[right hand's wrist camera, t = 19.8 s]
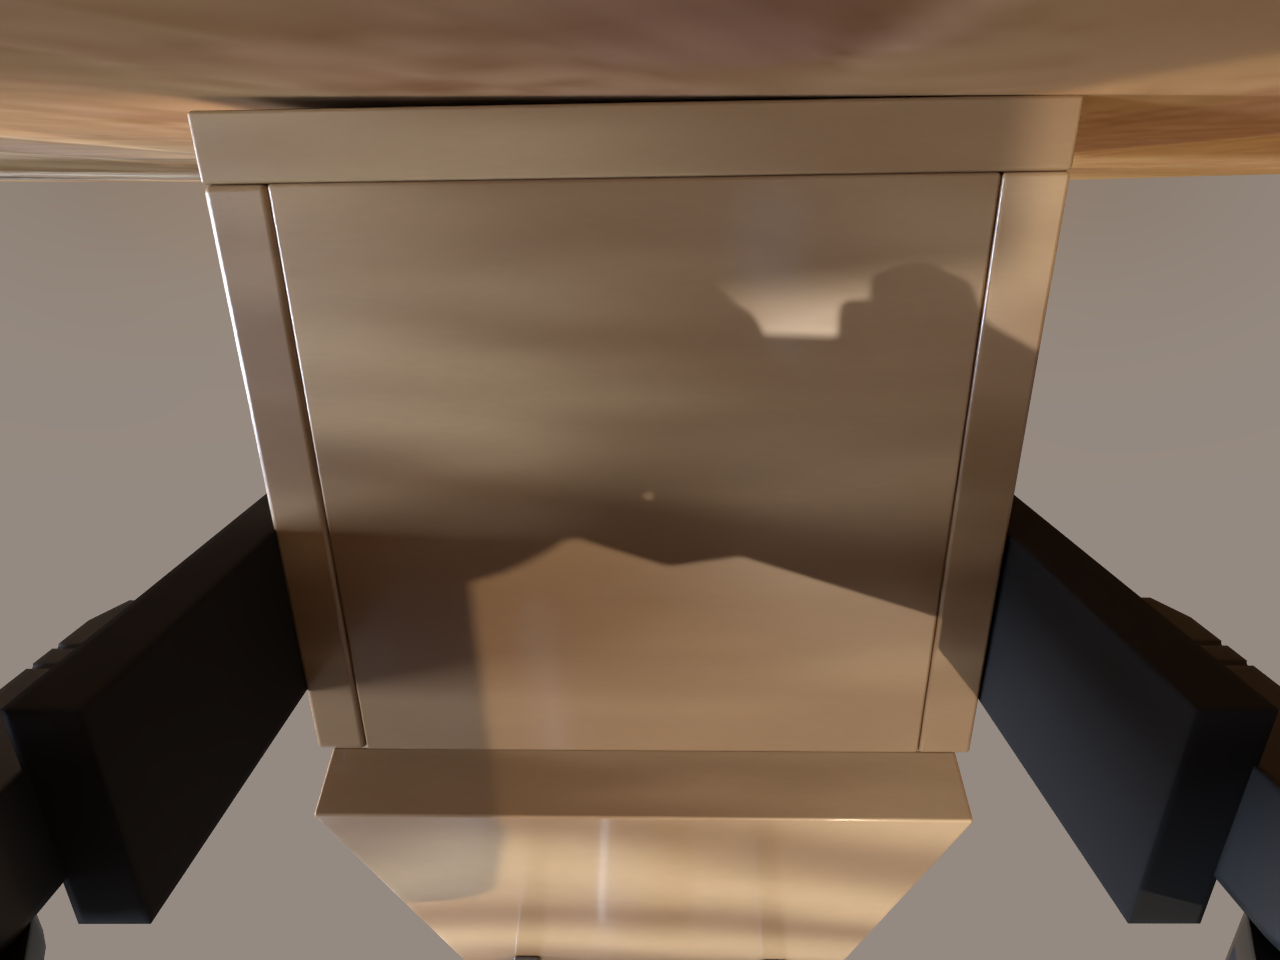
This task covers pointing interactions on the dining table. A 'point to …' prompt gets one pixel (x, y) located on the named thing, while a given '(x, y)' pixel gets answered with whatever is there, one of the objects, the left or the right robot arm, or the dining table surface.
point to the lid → (646, 846)
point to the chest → (641, 409)
